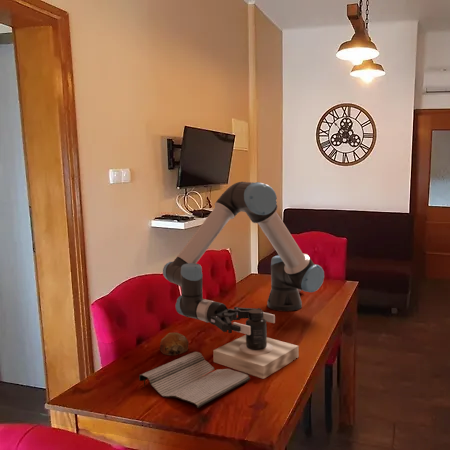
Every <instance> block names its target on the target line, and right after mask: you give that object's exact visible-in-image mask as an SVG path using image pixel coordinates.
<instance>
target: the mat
mask: <svg viewBox="0 0 450 450" xmlns="http://www.w3.org/2000/svg"><path fill="white" fill-rule="evenodd" d="M138 379H139V382H141V381H142V382H143V381H144V383H143V384H144V386H146V380H148V382H149V385H150V386H151V387H153V389H154V390H155V391H156V392H157V393H158V394H159V395H160V396H162V397H163V398H176V399H179V400H181V401H183V402H188V403H190V404H193V405H195V407H196V408H198V409H200V408H201V407H202V406H204V405H207V404H208V403H209V402H212V401H214V400H215V399H217V398H219V397H221V396H222V395H224V394H225V393H228V392H230V391H232V390H233V389H236V388H237V387H239V386H241V385H242V384H244V383H248V382H249V380H251V377H250V375H249V374H247V373H245V372H242V371H238V370H235V369H232V368H222V369H221V368H220V369H219V368H218V369H216V370H215V367H214V366H212V365H211V363H210V362H208V361H207V360H206V359H205V357H204V356H203V354H202V353H201V352H199V351H193V352H191V353H188V354H185V355H183V356H181V357H179V358H177V359H174V360H172V361H170V362H167V363H165V364H162V365H159V366H158V367H155V368H152V369H151V370H148V371H146V372H143V373H141V374H139V377H138Z"/></svg>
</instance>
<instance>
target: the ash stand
mask: <svg viewBox="0 0 450 450" xmlns="http://www.w3.org/2000/svg"><path fill="white" fill-rule="evenodd" d="M299 347H300V345H296V344H293V343H290V342H285V341H281V340H279V339H274V338H271V337H268V336H267V346H266V348H264V349H262V350H251V349H248V348H247V346H246V334H244V335H242V336H240V337H239V338H238V337H237V338H236V339H233V340H232V341H230V342H228V343H225V344H224V345H222V346H219V347H218V348H215V349H213V350H212V351H213V352H212V354H213V355H212V356H213V359H212V360H213V363H214V364H215V363H216V364H219V365H222V366H225V367H228V368H229V369H232V370H235V371H238V372H241V373H244V374H247V375H250V376H253V377H256V378H260V379H264V380H265V379H266V378H267V377H270V376H271V375H272V374H274V373H276V372H278V371H279V370H280V369H282V368H284V367H285V366H287V365H289V364H290V363H292V362H294V361H296V360H297V359H298V358H299V356H300V355H299V352H300V351H299ZM296 358H297V359H296ZM293 360H294V361H293Z"/></svg>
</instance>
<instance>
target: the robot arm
mask: <svg viewBox="0 0 450 450" xmlns="http://www.w3.org/2000/svg"><path fill="white" fill-rule="evenodd" d="M277 197H278V196H277V194H276V191H275V190H274V188H273V187H272V186H270V185H269V184H266V183H263V182H259V181H257V182H251V181H250V182H249V181H239V182H235V183H233V184H232V185H230V186H229V187H228V188H226V190H225V191H223V193H222V194H221V195H220V196H219V197H218V199H217V200H216V202H215V203H214V208H213V209H212V211H211V212H210V213H209V215H208V216H207V217H205V220H204V222H202V224H201V225H200V226H199V228H198V229H197V230H196V231H195V233H194V234H193V235H192V236H191V238H190V239H189V240H188V242H187V243H186V245H184V247H183V248H182V250H180V253H179V254H178V255H177V256H176V258H175V259H174V260H173V261H169V262H167V263H166V264H164V266H163V268H162V275H163V277H164V278H165V280H167V281H168V282H169V283H172V284H175V285H177V286H179V287H180V288H181V295H179V296H178V297H177V299H176V302H175V311H176V312H177V313H178V314H179V315H181V316H184V317H186V318H191V319H195V320H199V321H203V322H205V324H206V323H210V325H213V326H216V327H217V328H218V329H219V330H220V331H222V332H223V333H228V334H232V333H233V332H236V333H240V334H244V335H246V334H247V335H251V326H248V325H246V324H244V323H240V322H236V321H240V320H242V319H249V317H248V315H249V311H250V310H255V309H257V310H262V308H259V307H258V308H253V307H252V308H251V307H239V306H234V308H228V307H227V306H226V304H225V303H223V302H219V301H214V300H210V299H205V298H203V296H204V295H203V276H204V275H203V272H202V271H203V268H202V266H201V264H200V263H198V262H199V261H200V259H201V258H202V257H203V255H204V254H205V252H206V251H208V249H209V247H210V246H211V245H212V243H214V240H215V239H216V238H217V237H218V236H219V234H220V233H221V231H222V230H223V229H224V227H225V226H226V225H227V224H228V222H229V221H230V220H232V219H234V218H236V216H237V215H238V214H239V213H243V212H244V213H245V214H246V215H247V217H248V218H249V219H250V221H251V223H253V224H258V226H259V228H260V229H261V231H262V233H263V234H264V235H265V237H266V238H267V239H268V241H269V242H270V244H271V245H272V247H273V249H274V250H275V252H276V254H277V255H275V256H273V257H272V258H271V261H270V278H271V279H270V281H271V285H270V287H271V289H270V292H269V296H268V298H267V302H266V303H267V304H266V305H267V308H269V309H270V310H273V311H278V312H292V311H293V312H294V311H297V310H300V309H301V308H302V306H303V305H302V303H303V301H302V299H301V295H300V292H298V289H300V290H302V291H303V292H306V293H314V292H316V291H318V290H320V288H321V286H322V285H323V283H324V279H325V271H324V269H323V267H322V266H321V265H319V264H315V263H314V262H313V260H312V258H311V257H310V256H309V255H308V253H303V251H302V249H301V248H300V246H299V245H298V243H297V242H296V240H295V239H294V237H293V236H292V234H291V232H290V231H289V229H288V228H287V226H286V224H285V223H284V221H283V220H282V218H281V216H280V215H279V213H278V212H277V211H278V203H277V202H278V201H277ZM262 311H263V310H262ZM263 319H265V320H266V323H269V324H270V323H271V324H275V323H276V316H275V314H272V313H269V312H264V311H263ZM233 321H234V322H233Z"/></svg>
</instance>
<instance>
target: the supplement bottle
mask: <svg viewBox="0 0 450 450" xmlns="http://www.w3.org/2000/svg"><path fill="white" fill-rule="evenodd" d="M257 309H258V308H256V309H255V310H250V311H249V315H248V317H249V318H246V321H245V325H248V326H251V335H247V334H245V335H246V346H247V348H248V349H251V350H262V349H264V348H266V346H267V337H268V335H267V333H268V332H267V330H268V329H267V322H266V320H265V319H263V312H264V310H257Z"/></svg>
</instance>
